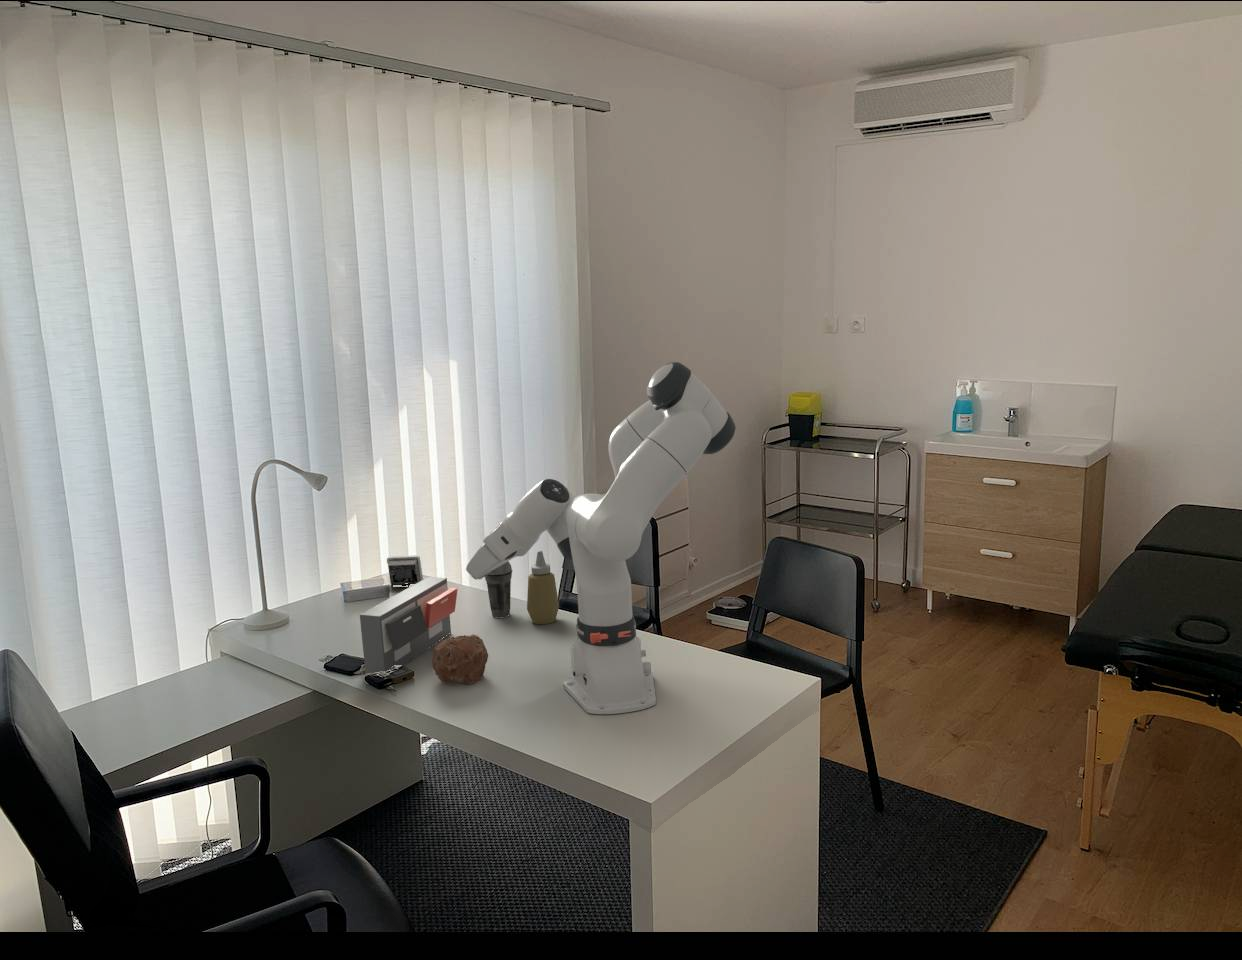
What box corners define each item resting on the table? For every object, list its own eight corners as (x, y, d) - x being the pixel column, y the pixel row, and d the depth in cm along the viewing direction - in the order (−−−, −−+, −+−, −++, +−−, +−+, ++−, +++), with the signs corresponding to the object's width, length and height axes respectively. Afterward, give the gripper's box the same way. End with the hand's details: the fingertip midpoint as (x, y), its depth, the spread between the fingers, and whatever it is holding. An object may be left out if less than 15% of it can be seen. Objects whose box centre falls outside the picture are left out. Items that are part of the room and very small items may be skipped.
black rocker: (427, 630, 210) (420, 605, 209) (397, 649, 199) (390, 623, 198) (422, 631, 210) (415, 606, 209) (392, 650, 199) (385, 624, 198)
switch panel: (451, 633, 226) (447, 578, 223) (386, 678, 200) (380, 616, 197) (433, 631, 227) (428, 576, 225) (365, 675, 202) (359, 614, 199)
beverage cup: (517, 610, 241) (513, 535, 237) (512, 619, 233) (506, 543, 230) (490, 610, 241) (485, 536, 238) (483, 620, 234) (478, 543, 230)
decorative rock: (454, 696, 189) (451, 650, 187) (419, 684, 196) (415, 639, 194) (501, 675, 199) (498, 631, 197) (465, 664, 206) (462, 621, 204)
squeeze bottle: (556, 626, 227) (552, 556, 224) (524, 626, 228) (519, 555, 225) (563, 615, 235) (559, 547, 232) (532, 615, 236) (528, 547, 233)
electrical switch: (424, 582, 268) (420, 552, 265) (421, 590, 263) (417, 559, 260) (391, 584, 268) (387, 554, 265) (387, 591, 263) (384, 561, 260)
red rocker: (455, 611, 223) (458, 588, 221) (428, 628, 212) (431, 604, 210) (450, 609, 223) (453, 586, 222) (423, 626, 212) (426, 602, 211)
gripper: (526, 515, 217) (493, 553, 223) (482, 538, 199) (447, 578, 204) (544, 535, 217) (510, 572, 222) (502, 559, 198) (466, 599, 204)
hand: (480, 575), depth 213 cm, fingers closed
